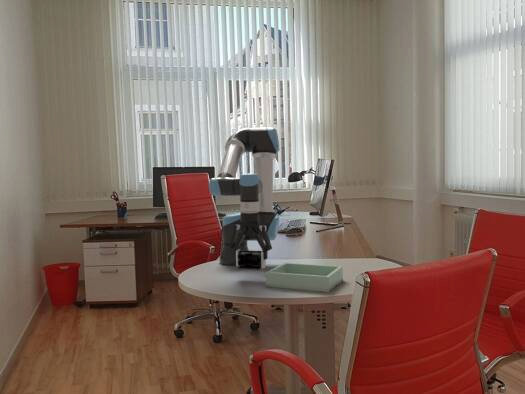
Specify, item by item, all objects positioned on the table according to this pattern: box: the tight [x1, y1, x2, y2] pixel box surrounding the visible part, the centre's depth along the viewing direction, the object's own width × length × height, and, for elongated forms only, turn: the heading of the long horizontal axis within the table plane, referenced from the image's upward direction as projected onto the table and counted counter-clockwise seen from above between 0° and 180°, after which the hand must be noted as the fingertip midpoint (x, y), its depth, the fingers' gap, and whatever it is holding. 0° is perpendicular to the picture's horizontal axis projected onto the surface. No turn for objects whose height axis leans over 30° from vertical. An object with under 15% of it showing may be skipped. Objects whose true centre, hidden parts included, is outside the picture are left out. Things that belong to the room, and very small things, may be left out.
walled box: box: [265, 262, 344, 293], centre depth 195 cm, size 24×20×6 cm
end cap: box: [237, 250, 263, 271], centre depth 204 cm, size 10×7×7 cm
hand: (250, 266), depth 204 cm, fingers closed on end cap, 10 cm apart
